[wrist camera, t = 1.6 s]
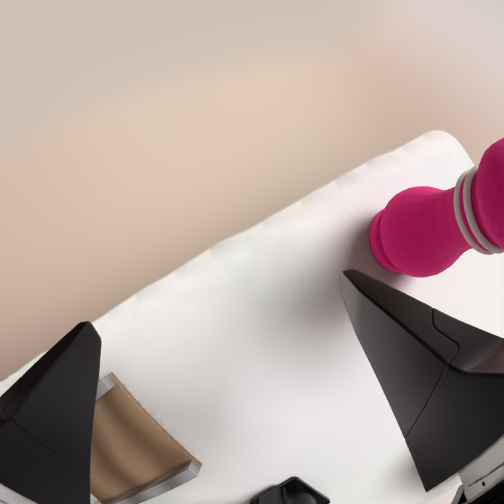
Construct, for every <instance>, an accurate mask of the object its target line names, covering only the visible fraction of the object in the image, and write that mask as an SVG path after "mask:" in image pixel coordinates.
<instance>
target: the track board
mask: <svg viewBox="0 0 504 504" xmlns="http://www.w3.org/2000/svg"><path fill="white" fill-rule="evenodd" d="M201 465H202V464H201V463H200V462H199V461H198V460H197V459H195V458H194V457H193V456H192V455H191V454H190V453H189V452H187V451H186V450H185V449H184V448H183V447H182V446H181V445H180V444H179V443H178V442H176V441H175V440H174V439H173V438H172V437H171V436H170V435H169V434H168V433H167V432H166V431H165V430H164V429H163V428H162V427H161V426H160V425H159V424H158V423H157V422H156V421H155V420H154V419H153V418H152V417H151V416H150V415H149V414H148V413H147V412H146V411H145V410H144V408H143V407H142V406H141V405H140V404H139V403H138V402H137V401H136V400H135V399H134V397H133V396H132V395H131V394H130V393H129V392H128V391H127V389H126V388H125V387H124V386H123V385H122V384H121V382H120V381H119V380H118V379H117V378H116V376H115V375H114V374H113V373H110V374H109V375H108V376H106V377H104V378H103V379H101V380H100V381H99V382H98V388H97V395H96V403H95V412H94V421H93V432H92V445H91V465H90V493H91V494H93V495H94V496H95V497H96V498H97V499H98V500H99V501H100V502H101V503H102V504H139V503H141V502H144V501H146V500H149V499H151V498H153V497H156V496H158V495H160V494H162V493H165V492H167V491H169V490H171V489H173V488H175V487H178V486H180V485H182V484H184V483H186V482H188V481H190V480H192V479H194V478H195V477H197V476H198V473H199V470H200V467H201Z"/></svg>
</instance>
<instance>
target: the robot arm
mask: <svg viewBox="0 0 504 504" xmlns="http://www.w3.org/2000/svg"><path fill="white" fill-rule="evenodd" d="M341 295H342V298H343V301H344V304H345V306H346V309H347V312H348V314H349V317H350V320H351V323H352V325H353V328H354V331H355V333H356V336H357V338H358V340H359V342H360V344H361V346H362V348H363V350H364V352H365V354H366V356H367V358H368V360H369V362H370V364H371V366H372V368H373V370H374V372H375V374H376V377H377V379H378V381H379V383H380V385H381V387H382V389H383V391H384V394H385V396H386V398H387V400H388V402H389V404H390V407H391V409H392V411H393V413H394V416H395V418H396V420H397V422H398V425H399V427H400V429H401V431H402V434H403V436H404V438H405V441H406V444H407V446H408V448H409V451H410V453H411V456H412V458H413V460H414V463H415V465H416V468H417V470H418V473H419V475H420V478H421V481H422V483H423V486H424V488H425V491H426V492H428V491H430V490H432V489H434V488H436V487H438V486H440V485H442V484H444V483H445V482H447V481H449V480H451V479H452V478H454V477H456V476H457V475H459V476H460V479H461V481H462V483H463V484H462V485H461V486H459V488H458V490H457V492H456V495H455V497H454V499H453V501H452V503H451V504H504V338H501V337H498V336H496V335H493V334H491V333H488V332H486V331H483V330H481V329H478V328H476V327H474V326H471V325H469V324H466V323H464V322H462V321H459V320H457V319H455V318H453V317H451V316H449V315H447V314H445V313H443V312H441V311H439V310H437V309H435V308H433V309H432V307H431V306H429V305H427V304H425V303H423V302H421V301H419V300H417V299H415V298H413V297H411V296H409V295H407V294H405V293H403V292H401V291H399V290H397V289H395V288H393V287H391V286H389V285H387V284H385V283H383V282H381V281H379V280H377V279H375V278H372V277H370V276H368V275H366V274H364V273H362V272H360V271H358V270H356V269H354V268H351V269H347V270H343V271H342V272H341ZM100 355H101V338H100V336H99V334H98V333H97V331H96V330H95V328H94V327H93V325H92V324H91V323H90V322H89V321H86V322H80V323H79V324H78V325H76V326H75V327H74V328H73V329H72V330H71V331H70V332H69V333H67V334H66V335H65V336H64V337H63V338H62V339H61V340H60V341H59V342H58V343H56V344H55V345H54V346H53V347H52V348H51V349H50V350H49V351H48V352H47V353H46V354H45V355H43V356H42V357H41V358H40V359H39V360H38V361H37V362H36V363H35V364H34V365H33V366H32V367H31V368H30V369H29V370H28V371H27V372H26V373H25V374H24V375H23V376H22V377H20V378H19V379H18V380H17V381H16V382H15V383H14V384H13V385H12V386H11V387H10V388H9V389H8V390H7V391H6V392H5V393H4V394H3V395H2V396H1V397H0V504H90V465H91V445H92V432H93V421H94V412H95V403H96V395H97V388H98V381H99V370H100ZM294 481H296V482H294ZM325 501H326V502H325ZM254 503H256V504H329V503H330V500H329V498H327V497H326V496H324V495H323V494H321V493H320V492H318V491H317V490H315V489H314V488H312V487H311V486H309V485H308V484H307V483H305V482H304V481H303V480H301V479H300V478H298V477H293V478H291V479H289V480H287V481H286V482H284V483H282V484H281V485H279V486H277V487H275V488H273V489H271V490H269V491H268V492H266V493H264V494H262V495H260V496H259V497H257V498H255V499H253V500H251V501H250V504H254Z"/></svg>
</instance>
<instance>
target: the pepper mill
mask: <svg viewBox="0 0 504 504" xmlns="http://www.w3.org/2000/svg"><path fill="white" fill-rule="evenodd" d="M369 240H370V246H371V250H372V252H373V255H374V256H375V258H376V260H377V261H378V262H379V263H380V264H381V265H382V266H383V267H384V268H386V269H387V270H389V271H392V272H396V273H405V274H407V275H410V276H413V277H428V276H432V275H436V274H439V273H441V272H442V271H444V270H446V269H447V268H449V267H450V266H451V265H452V264H453V263H454V262H455V261H456V260H457V259H458V258H459V257H460V256H461V255H462V254H463V253H464V252H465V251H467V250H469V249H472V248H473V249H475V250H476V251H478V252H480V253H482V254H486V255H491V254H494V253H503V252H504V138H502V139H500V140H498V141H497V142H495V143H494V144H492V145H491V146H490V147H489V148H488V149H487V150H486V151H485V153H484V154H483V156H482V159H481V162H480V164H478V165H476V166H474V167H473V168H471V169H470V170H467V171H465V172H464V173H463V174H462V175H461V176H460V177H459V179H458V181H457V183H456V186H455V187H454V188H451V189H448V190H440V189H437V188H433V187H427V186H420V187H412V188H408V189H406V190H404V191H402V192H400V193H398V194H396V195H395V196H394V197H393V198H392V199H391V200H390V201H389V202H388V204H387V206H386V207H385V209H383V210H382V211H380V212H379V213H378V214H377V215H376V217H375V218H374V220H373V222H372V224H371V227H370V233H369Z"/></svg>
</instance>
